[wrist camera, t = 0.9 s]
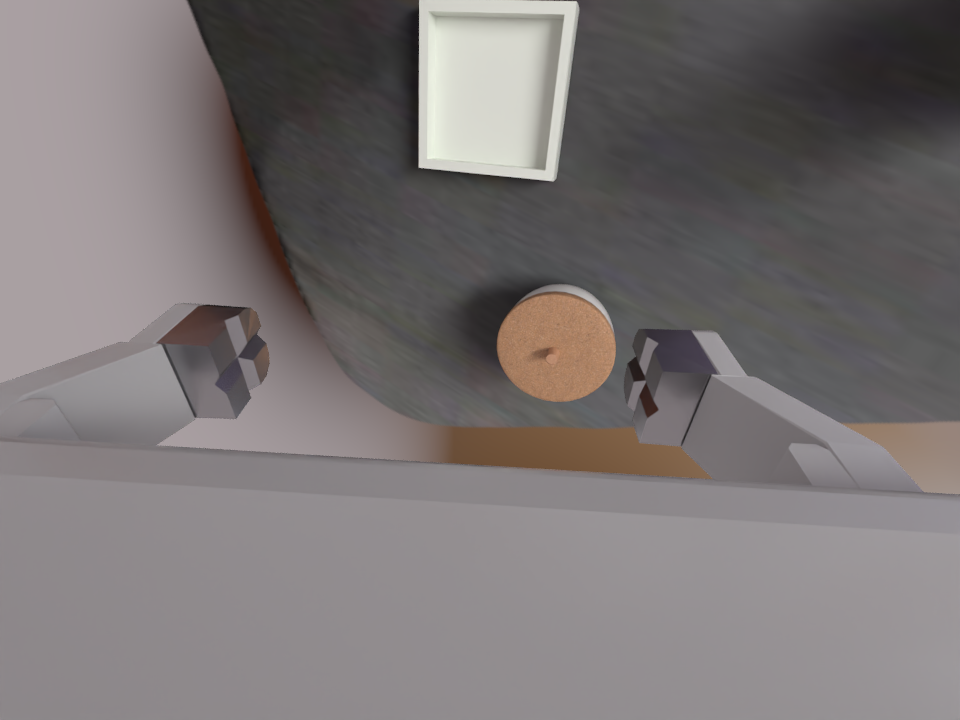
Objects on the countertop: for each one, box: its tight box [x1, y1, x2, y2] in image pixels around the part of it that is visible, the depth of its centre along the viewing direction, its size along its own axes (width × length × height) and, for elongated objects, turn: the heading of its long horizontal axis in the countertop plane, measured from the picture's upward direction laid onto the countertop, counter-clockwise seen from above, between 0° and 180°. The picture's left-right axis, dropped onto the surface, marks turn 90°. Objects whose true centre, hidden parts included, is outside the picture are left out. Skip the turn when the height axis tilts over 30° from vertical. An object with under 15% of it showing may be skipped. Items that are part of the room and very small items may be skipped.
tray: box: [419, 0, 579, 181], centre depth 39 cm, size 13×13×2 cm
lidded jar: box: [497, 284, 616, 402], centre depth 44 cm, size 11×11×9 cm
